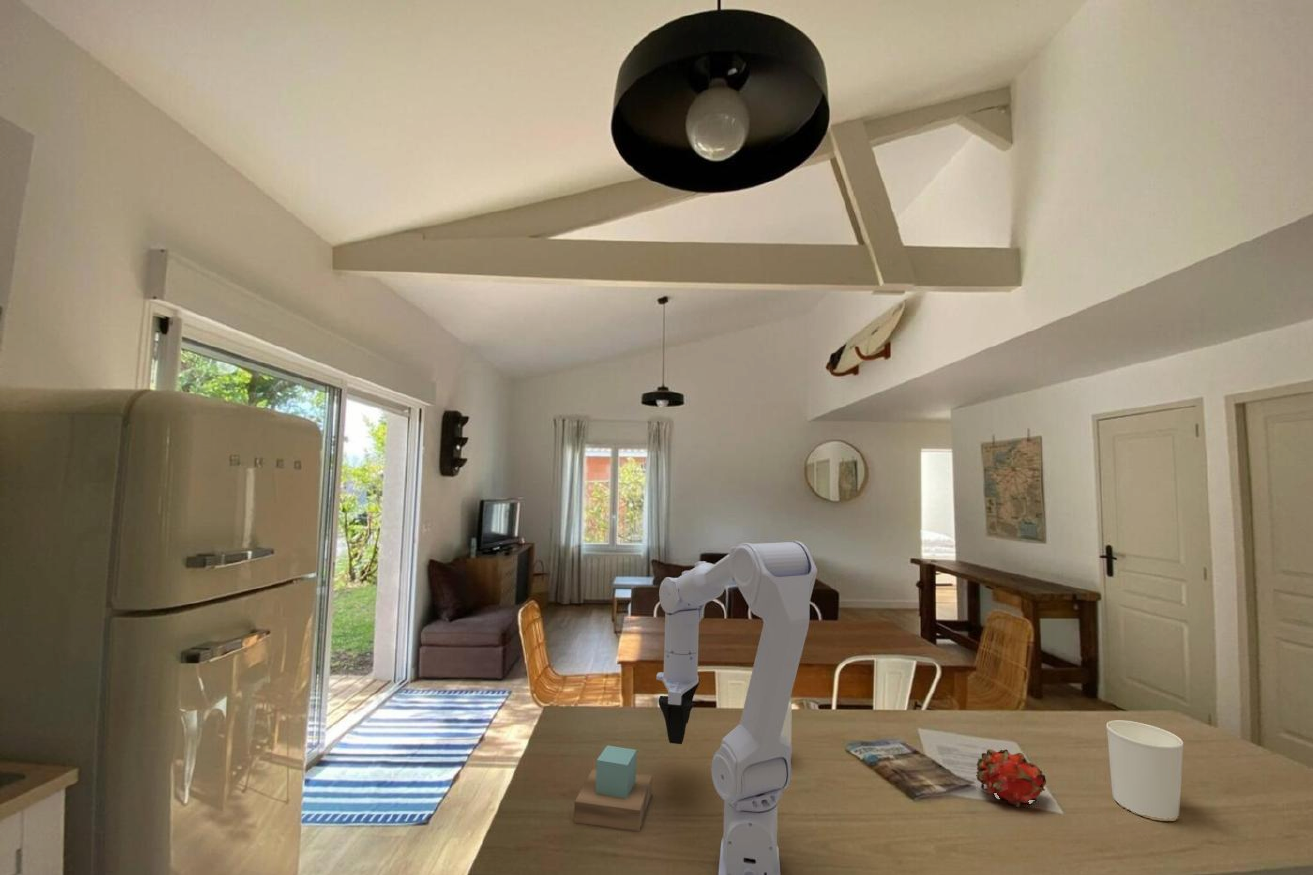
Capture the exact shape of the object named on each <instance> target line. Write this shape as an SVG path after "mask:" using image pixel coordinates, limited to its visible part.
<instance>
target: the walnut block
mask: <svg viewBox="0 0 1313 875" xmlns="http://www.w3.org/2000/svg"><path fill="white" fill-rule="evenodd" d="M596 768H597V767H593V768H592V769H591V770H590V773H589V775H588V777H587V778H586V780H585V782H584V784H583V786H582V788H581V789H580V791H579V793H578V794H577V797H576V799H575V800H574V810H573V811H574V812H573V813H574V814H573V823H576V824H577V823H578V824H585V825H592V826H599V827H606V828H613V829H621V830H626V831H634V832H640V830H641V827H642V824H643V822H644V821H643V820H644V818H645V814H646V812H647V809H648V806H649V802H650V800H651V797H652V791H653V790H652V785H653V782H652V780H653V775H650V774H643V773H636V782H635V784H634V786H633V788H632V790H631V791H630V793H629V795H628V797H627V799H625V798H619V797H613V796H608V795H602V794H597V793H596Z"/></svg>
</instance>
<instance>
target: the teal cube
mask: <svg viewBox="0 0 1313 875" xmlns="http://www.w3.org/2000/svg"><path fill="white" fill-rule="evenodd" d="M637 751H638V750H637V749H632V748H627V747H625V748H624V747H620V746H612V745H606V746H605V748H604V749H603V751H602V752H601V754H599V756H598V757H597V759H596V767H595V768H596V793H597V794H602V795H608V796H613V797H619V798H625V799H627V797H628V795H629V793H630V791H631V790H632V788H633V786H634V784H635V782H636V774H637V756H638V755H637V753H638V752H637Z"/></svg>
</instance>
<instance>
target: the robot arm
mask: <svg viewBox="0 0 1313 875" xmlns="http://www.w3.org/2000/svg"><path fill="white" fill-rule="evenodd" d="M817 575H818V569H817V566H816V563H815V561H814V559H813V556H812V554H811V553H810V550H809V549H808V547H807V546H806V545H805V544H804V543H803V542H801V541H799V540H790V541H786V542H764V543H763V542H762V543H760V542H759V543H750V542H742V543H739V544H738V545H737V546H734V547H733V546H732V547H731V548H730V550H729V553H728V554H727V555H725V556H724V557H723V558H721V559H720V560H718V561H717V562H715V563H711V562H707V561H706V560H705V561H704V560H703V561H697V562H695V563H694V568H692V569H690V570H684V571H682V572H681V575H680V576H678V577H669V576H667V577H664V579H663V580H662V581H661V583H660V585H659V586H660V587H659V592H658V596H659V603H660V606H661V608H662V610H663V612H665V613H664V615H665V616H664V646H663V647H664V649H663V650H664V651H663V653H664V654H663V672H661V671H659V672H657V674H656V677H655V678H656V681H660V682H662V683H663V685H664V687H665V688H666V690H667V692H668V693H667V694H668V695H660V696H659V697H658V707H659V709H660V710H661V712H662V715H663V717H664V720H665V727H666V734H667V738H668V742H669V744H677V745H682V744H683V743H684V738H685V733H686V728H687V725H688V723H689V721H690V720H689V719H690V715H691V711H692V709H693V707H694V704H695V700H693V699H694V696H695V693H696V691H697V689H698V687H699V685H700V681H701V678H700V677H699V675H698V673H699V672H698V670H699V666H698V665H699V664H698V663H699V634H700V632H699V631H700V630H699V626H700V622H701V621H702V620H703V611H704V609H705V607H706V605H707V603H710V602H711V601H714V600H715V599H717V598H719V597H721V596H722V595H723V593H724V591H725V588H726V586H727V585H730V584H732V583H735V584H736V586H737V587H738V590H739V592H740V593H741V594H742V595H741V596H742V597H743V599H744V600H745V602H746V605H748V607H749V609H750V611H751V613H752V614H753V615H755V616H757V617H758V618H759V619H762V621H763V624H762V629H761V633H760V637H759V641H758V646H757V650H756V654H755V658H754V664H753V665H752V666H753V667H752V671H751V676H750V679H749V684H748V687H747V692H746V696H745V701H744V705H743V710H742V713H741V718H740V721H739V724H738V725H737V726H736V727H734V728H733V729H732V730H731V731H729V733H727V734H726V735H725V736H723V738H722V739H721V743H720V747H719V749H718V750H717V751H716V752H715V753H714V754H713V758H712V761H711V766H710V767H711V770H710V771H711V779H712V783H713V787H714V788H715V791H716V792H717V794H718V795H719V797H720V798H721V799H722V800H723V831H722V832H723V835H722V839H721V842H720V852H719V862H718V863H719V864H718V875H781V866H780V864H781V863H780V852H779V851H780V850H779V846H778V808H779V807H778V805H779V804H778V803H779V800H782V799H783V790H785V789H787V788H788V787H789V785H790V782H791V780H792V763H791V761H792V755H793V747H792V744H791V745H790V743H789V741H788V740H787V738H786V737H785V736H784V735H783V734H782V733H781V732H782V728H783V724H784V720H785V716H786V712H787V709H788V705H789V701H791V696H792V692H793V689H794V684H795V682H796V678H797V673H798V669H799V665H800V661H801V657H802V654H803V650H804V645H805V641H806V639H807V635H808V631H809V626H810V617H811V616H810V615H811V614H810V612H811V611H810V610H811V609H810V602H811V598H812V594H813V589H814V587H815V582H816V578H817Z"/></svg>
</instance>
